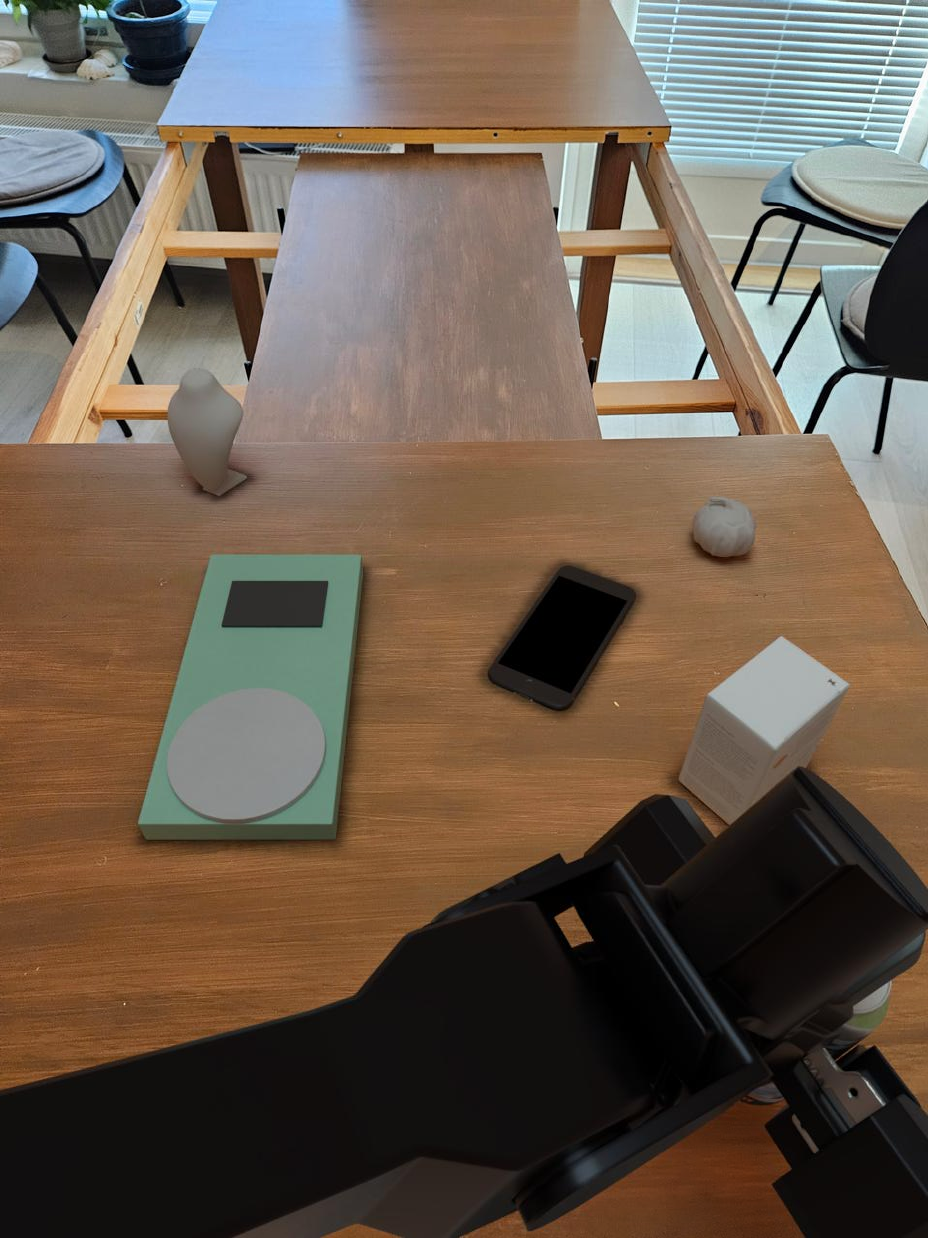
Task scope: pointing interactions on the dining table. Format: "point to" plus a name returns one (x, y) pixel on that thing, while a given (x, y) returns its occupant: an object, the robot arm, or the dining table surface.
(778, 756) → the small box
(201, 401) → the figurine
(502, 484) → the dining table surface
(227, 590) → the scale
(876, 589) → the dining table surface
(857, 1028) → the beverage can
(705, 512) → the garlic
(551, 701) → the smartphone
